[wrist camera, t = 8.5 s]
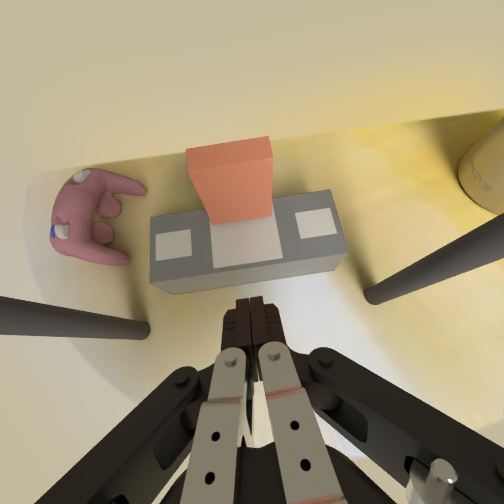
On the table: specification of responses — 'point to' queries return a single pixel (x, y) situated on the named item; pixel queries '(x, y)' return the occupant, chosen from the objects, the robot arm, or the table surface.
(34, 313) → the cord posts
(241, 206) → the block
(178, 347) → the table surface
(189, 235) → the breaker block
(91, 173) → the video game controller
